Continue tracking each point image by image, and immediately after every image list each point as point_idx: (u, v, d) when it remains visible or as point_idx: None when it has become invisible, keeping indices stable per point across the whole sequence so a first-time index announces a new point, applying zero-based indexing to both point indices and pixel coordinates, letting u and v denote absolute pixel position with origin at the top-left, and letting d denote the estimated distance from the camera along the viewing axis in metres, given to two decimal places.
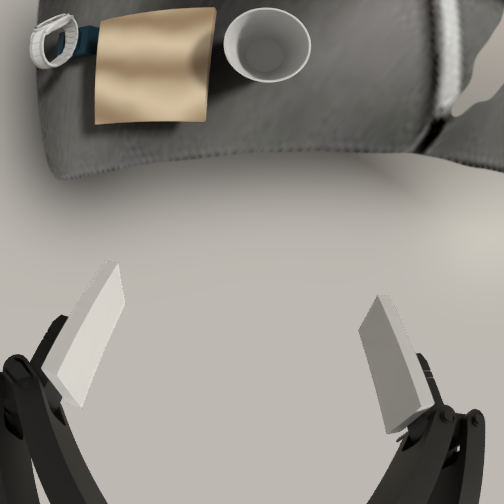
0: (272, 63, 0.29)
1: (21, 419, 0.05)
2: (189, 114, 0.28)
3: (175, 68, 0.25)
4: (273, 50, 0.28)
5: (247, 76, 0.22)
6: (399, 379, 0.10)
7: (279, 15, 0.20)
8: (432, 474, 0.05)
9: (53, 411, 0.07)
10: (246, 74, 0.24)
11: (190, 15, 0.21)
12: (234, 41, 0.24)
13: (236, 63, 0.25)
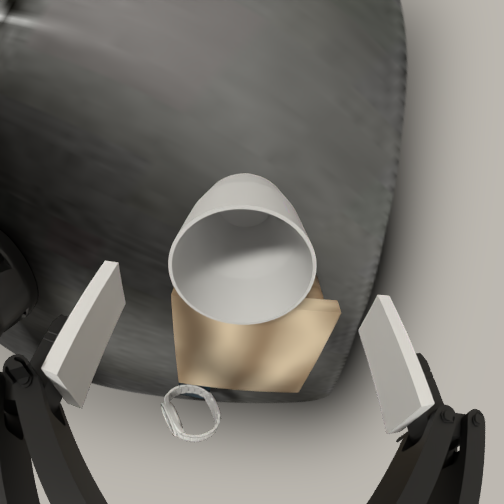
0: None
1: (21, 419, 0.05)
2: (326, 325, 0.23)
3: (260, 335, 0.24)
4: None
5: (300, 301, 0.16)
6: (399, 379, 0.10)
7: (179, 241, 0.16)
8: (432, 474, 0.05)
9: (53, 411, 0.07)
10: (291, 283, 0.18)
11: (184, 318, 0.23)
12: (227, 272, 0.21)
13: (265, 272, 0.21)
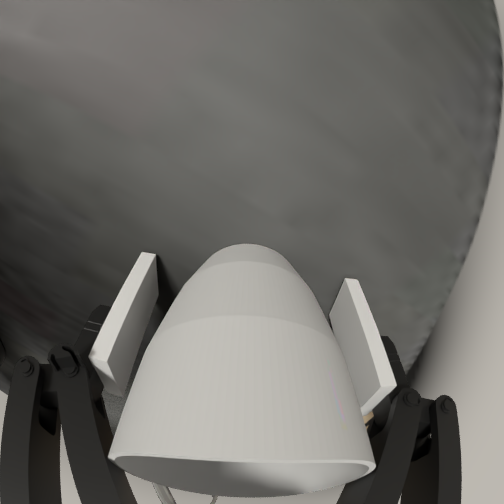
0: None
1: (61, 408, 0.06)
2: None
3: None
4: None
5: (332, 487, 0.07)
6: (362, 360, 0.10)
7: None
8: (403, 461, 0.06)
9: (94, 403, 0.08)
10: None
11: None
12: None
13: None
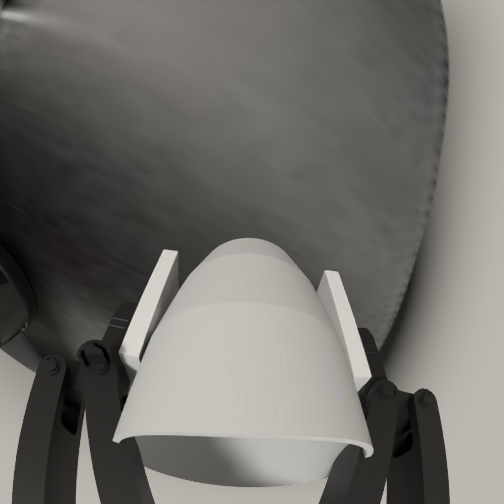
0: None
1: (87, 405, 0.07)
2: None
3: None
4: None
5: None
6: None
7: None
8: (383, 456, 0.06)
9: None
10: None
11: None
12: None
13: None
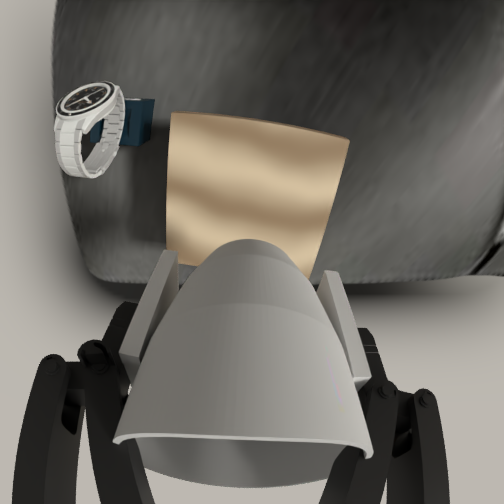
0: None
1: (87, 405, 0.07)
2: None
3: (286, 218, 0.24)
4: None
5: None
6: None
7: None
8: (383, 456, 0.06)
9: None
10: None
11: (316, 145, 0.20)
12: None
13: None
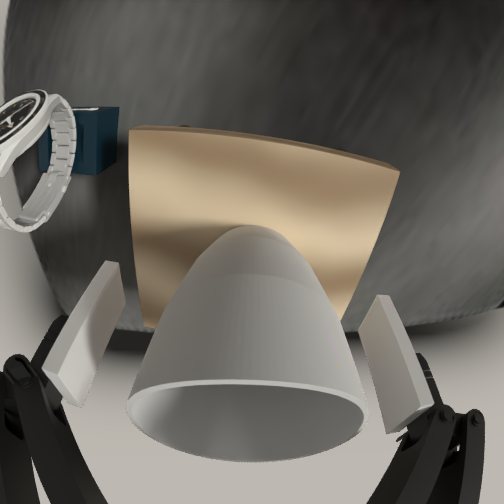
0: None
1: (22, 419, 0.05)
2: None
3: None
4: None
5: None
6: (399, 379, 0.10)
7: None
8: (432, 474, 0.05)
9: (54, 411, 0.07)
10: (319, 412, 0.11)
11: (353, 178, 0.13)
12: None
13: None
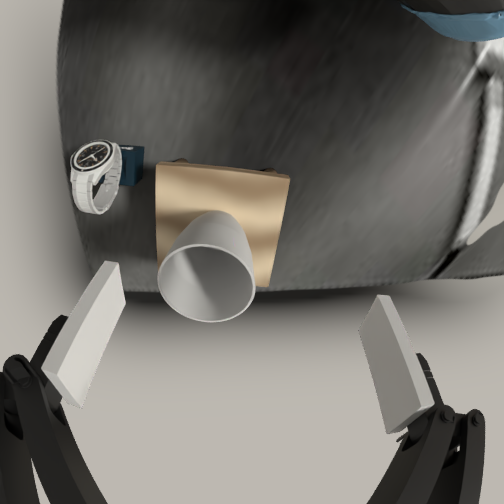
0: None
1: (21, 419, 0.05)
2: (256, 280, 0.35)
3: None
4: None
5: (247, 306, 0.24)
6: (399, 379, 0.10)
7: (165, 264, 0.23)
8: (432, 474, 0.05)
9: (53, 411, 0.07)
10: (244, 293, 0.25)
11: (264, 184, 0.28)
12: (202, 285, 0.28)
13: (229, 285, 0.28)
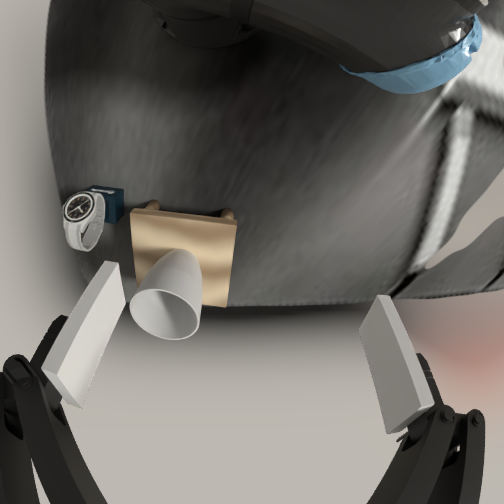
0: None
1: (21, 419, 0.05)
2: (216, 302, 0.42)
3: (204, 271, 0.39)
4: None
5: (195, 330, 0.31)
6: (399, 379, 0.10)
7: (135, 298, 0.30)
8: (432, 474, 0.05)
9: (53, 411, 0.07)
10: (195, 319, 0.32)
11: (215, 230, 0.35)
12: (168, 309, 0.35)
13: (188, 310, 0.35)
